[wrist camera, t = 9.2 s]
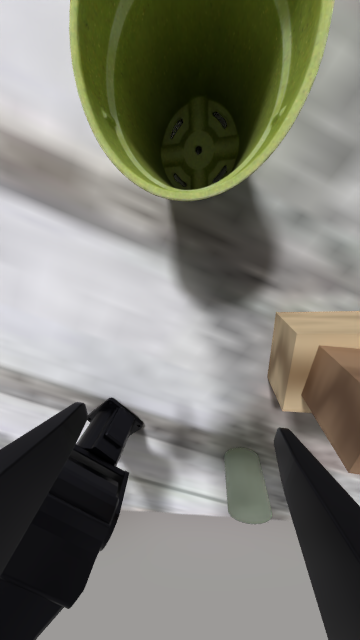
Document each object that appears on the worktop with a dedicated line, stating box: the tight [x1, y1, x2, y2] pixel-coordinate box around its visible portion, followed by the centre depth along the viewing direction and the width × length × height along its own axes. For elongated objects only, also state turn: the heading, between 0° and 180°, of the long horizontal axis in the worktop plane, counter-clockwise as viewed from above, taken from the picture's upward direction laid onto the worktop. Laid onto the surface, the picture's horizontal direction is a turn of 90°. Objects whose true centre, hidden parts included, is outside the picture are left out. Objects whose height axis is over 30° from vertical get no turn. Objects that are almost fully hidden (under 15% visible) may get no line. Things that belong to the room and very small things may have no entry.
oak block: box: [268, 311, 360, 413], centre depth 17 cm, size 8×8×5 cm
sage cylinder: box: [224, 448, 272, 524], centre depth 25 cm, size 5×5×6 cm
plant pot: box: [69, 0, 335, 201], centre depth 11 cm, size 9×9×9 cm
